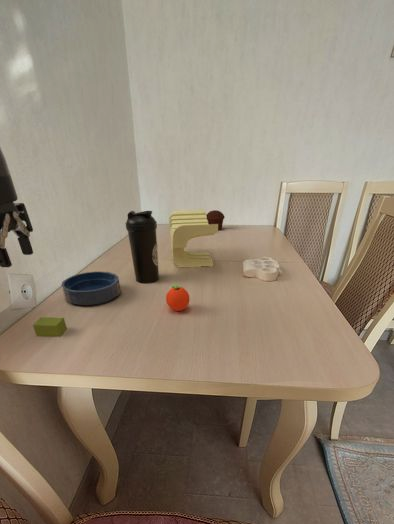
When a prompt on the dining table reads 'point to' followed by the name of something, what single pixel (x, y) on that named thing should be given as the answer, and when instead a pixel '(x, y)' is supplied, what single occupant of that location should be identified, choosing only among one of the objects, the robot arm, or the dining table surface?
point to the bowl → (91, 288)
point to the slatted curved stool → (189, 236)
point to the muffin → (215, 218)
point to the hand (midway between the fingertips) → (18, 260)
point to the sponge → (50, 327)
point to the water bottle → (143, 245)
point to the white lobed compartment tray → (262, 268)
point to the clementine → (177, 298)
